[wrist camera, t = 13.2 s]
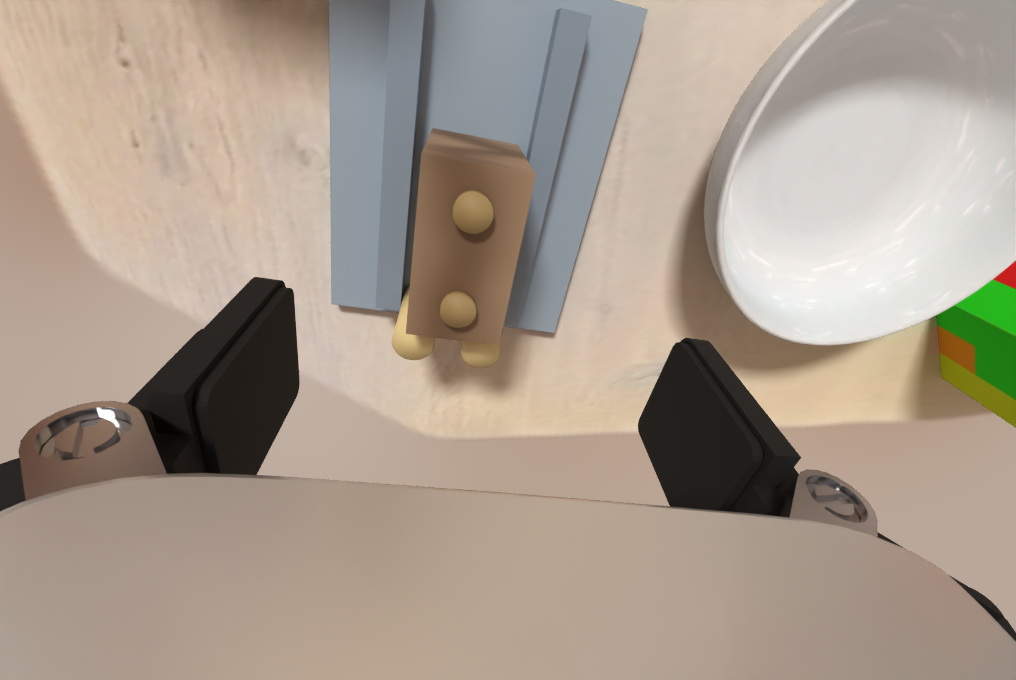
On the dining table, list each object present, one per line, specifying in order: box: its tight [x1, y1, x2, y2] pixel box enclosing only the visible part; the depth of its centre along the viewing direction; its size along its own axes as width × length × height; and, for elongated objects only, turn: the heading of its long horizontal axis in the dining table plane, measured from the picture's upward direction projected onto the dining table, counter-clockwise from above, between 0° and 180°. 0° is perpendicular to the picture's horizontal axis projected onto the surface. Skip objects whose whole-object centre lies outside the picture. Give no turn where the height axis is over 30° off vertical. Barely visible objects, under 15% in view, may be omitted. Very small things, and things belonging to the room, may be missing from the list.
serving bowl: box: [704, 0, 1016, 346], centre depth 27 cm, size 21×21×7 cm
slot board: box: [329, 0, 648, 368], centre depth 25 cm, size 16×20×7 cm
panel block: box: [406, 128, 536, 345], centre depth 25 cm, size 5×9×9 cm, turn 169°
